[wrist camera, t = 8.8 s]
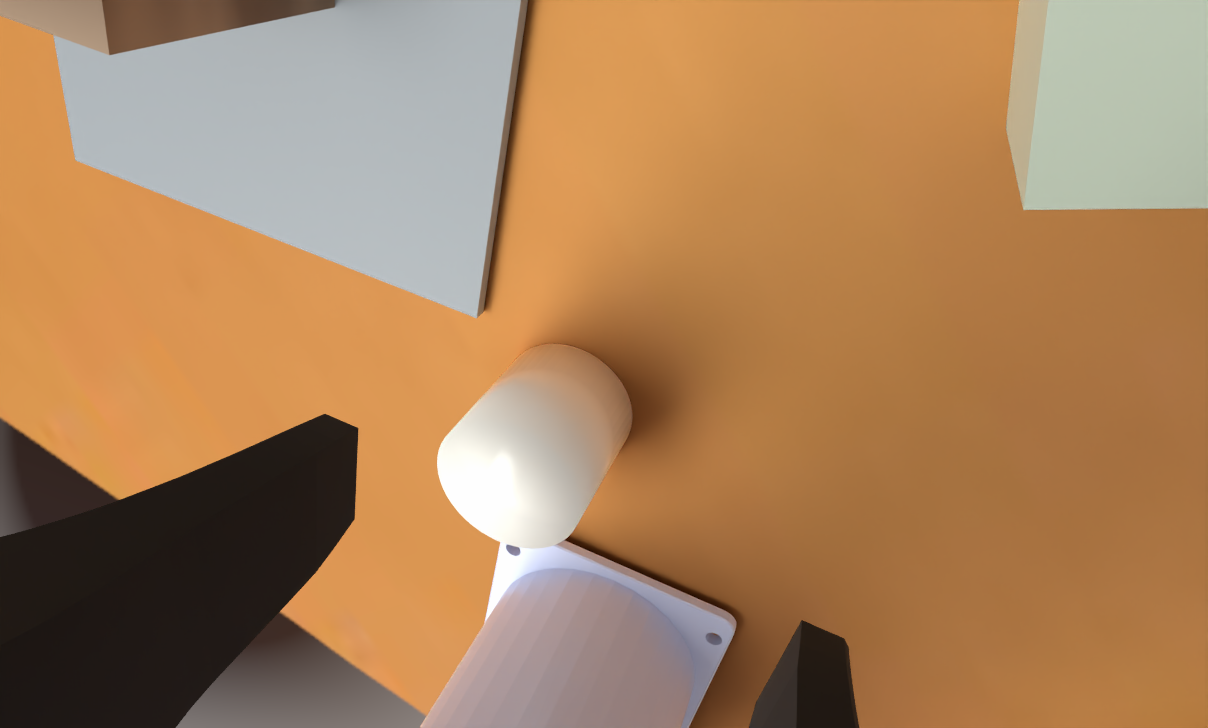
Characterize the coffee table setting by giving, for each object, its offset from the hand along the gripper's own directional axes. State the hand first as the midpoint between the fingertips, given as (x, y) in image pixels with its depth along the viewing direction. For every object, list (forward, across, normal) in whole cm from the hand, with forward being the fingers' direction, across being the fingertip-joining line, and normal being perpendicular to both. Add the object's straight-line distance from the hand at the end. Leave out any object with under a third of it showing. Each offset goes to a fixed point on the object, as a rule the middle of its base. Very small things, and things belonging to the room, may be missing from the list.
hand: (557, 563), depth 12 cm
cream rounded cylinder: (+10, +3, +5) cm, 12 cm away
